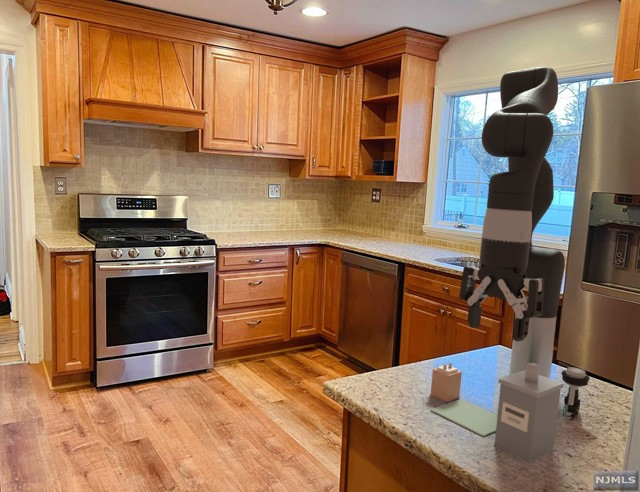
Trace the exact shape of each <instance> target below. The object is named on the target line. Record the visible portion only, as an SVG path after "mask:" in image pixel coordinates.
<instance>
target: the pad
mask: <svg viewBox="0 0 640 492" xmlns="http://www.w3.org/2000/svg"><path fill="white" fill-rule="evenodd" d="M430 412H432V413H435V414H437V415H438V416H440V417H442V418H445V419H447V420H449V421H450V422H453V423H455V424H457V425H458V426H461V427H462V428H465V429H467V430H469V431H471V432H473V433H475V434H477V435H479V436H481V437H482V438H483V437H484V438H485V437H487V436H489V435H491V434H495V433H496V425H497V415H498V414H495V413H493V412H491V411H488V410H486V409H483V408H481V407H479V406H477V405H474V404H472V403H470V402H468V401H466V400H463V399H462V398H460V399H458V400H454V401H451V402H448V403H446V404H442V405H439V406H437V407H433V408H432V409H430Z"/></svg>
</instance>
